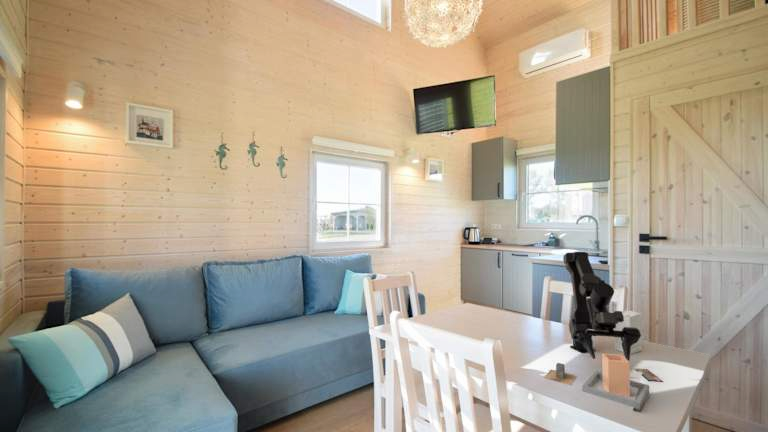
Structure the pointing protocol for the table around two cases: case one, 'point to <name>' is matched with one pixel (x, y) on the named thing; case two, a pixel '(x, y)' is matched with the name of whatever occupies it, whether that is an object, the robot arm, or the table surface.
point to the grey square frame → (637, 404)
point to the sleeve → (616, 374)
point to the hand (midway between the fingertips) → (611, 359)
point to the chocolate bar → (648, 375)
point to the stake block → (560, 375)
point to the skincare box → (629, 321)
